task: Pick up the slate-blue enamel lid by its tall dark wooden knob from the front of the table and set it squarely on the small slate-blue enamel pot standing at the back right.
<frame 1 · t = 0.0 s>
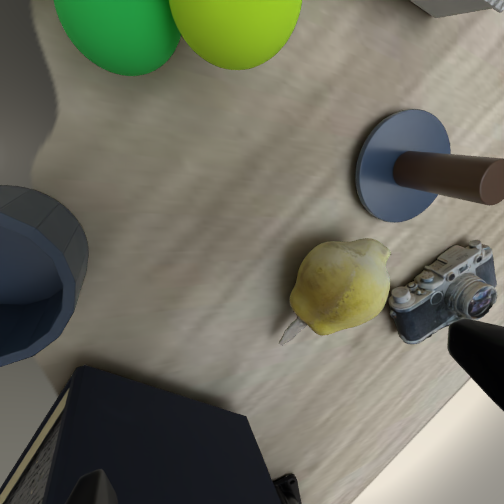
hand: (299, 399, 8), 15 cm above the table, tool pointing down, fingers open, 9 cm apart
lid: (401, 168, 24), point 1 cm above the table
camera: (429, 285, 30), on the table
pot: (17, 250, 18), on the table
fruit: (312, 283, 26), on the table
speaker: (95, 488, 25), on the table
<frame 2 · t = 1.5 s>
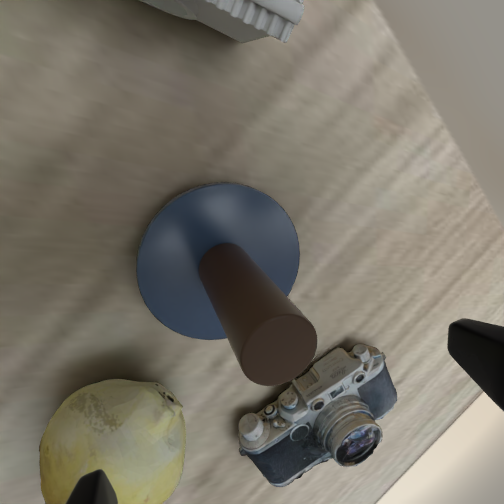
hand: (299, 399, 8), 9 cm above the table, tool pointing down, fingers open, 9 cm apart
lid: (221, 263, 16), point 1 cm above the table
camera: (308, 398, 22), on the table
fruit: (109, 420, 18), on the table
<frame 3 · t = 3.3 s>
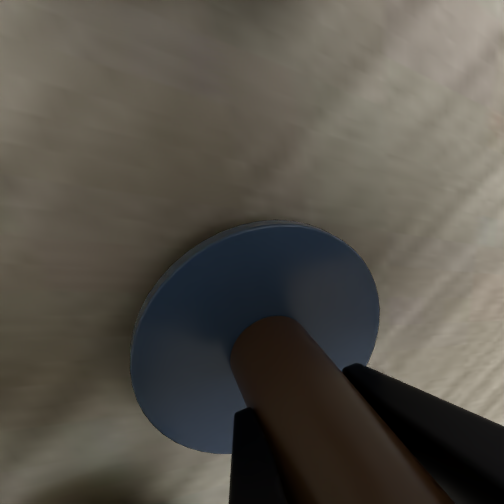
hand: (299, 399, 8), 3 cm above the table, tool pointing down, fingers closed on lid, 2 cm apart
lid: (263, 341, 10), point 1 cm above the table, touching gripper
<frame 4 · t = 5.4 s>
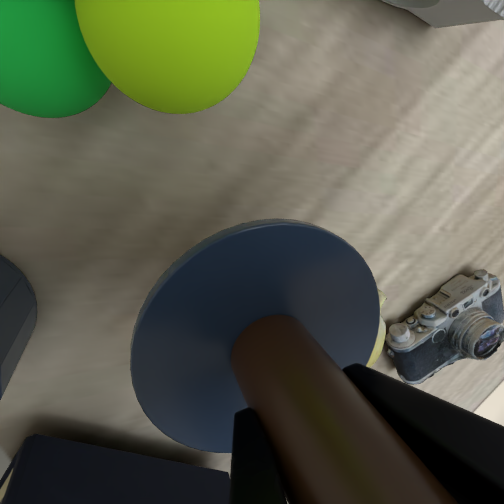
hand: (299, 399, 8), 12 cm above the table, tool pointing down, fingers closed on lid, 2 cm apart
lid: (264, 340, 10), point 10 cm above the table, touching gripper
camera: (430, 318, 27), on the table
fruit: (299, 323, 23), on the table
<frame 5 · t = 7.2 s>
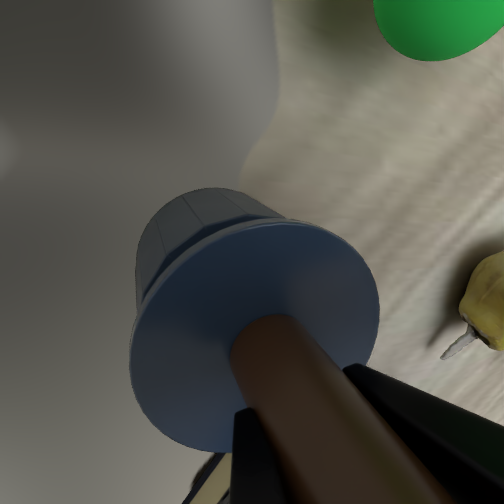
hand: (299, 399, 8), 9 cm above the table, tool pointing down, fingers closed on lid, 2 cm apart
lid: (263, 340, 10), point 7 cm above the table, touching gripper
pot: (212, 260, 16), on the table
fruit: (471, 292, 24), on the table
when the fingers open (8 cm above the table, at t = 7.9 s): lid stays where it is, resting on pot.
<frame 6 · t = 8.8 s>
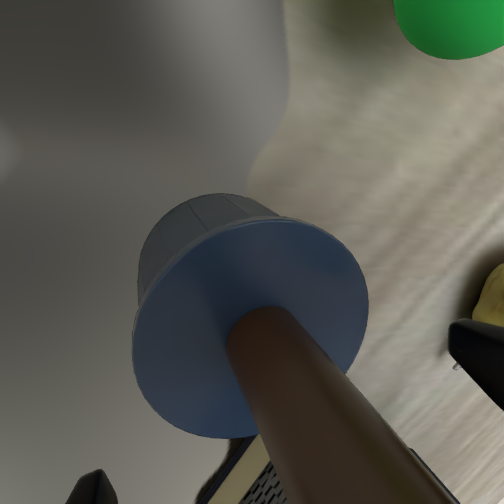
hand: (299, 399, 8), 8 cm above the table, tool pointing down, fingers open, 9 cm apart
lid: (258, 331, 11), point 5 cm above the table, touching pot
pot: (218, 269, 16), on the table
fruit: (484, 299, 23), on the table
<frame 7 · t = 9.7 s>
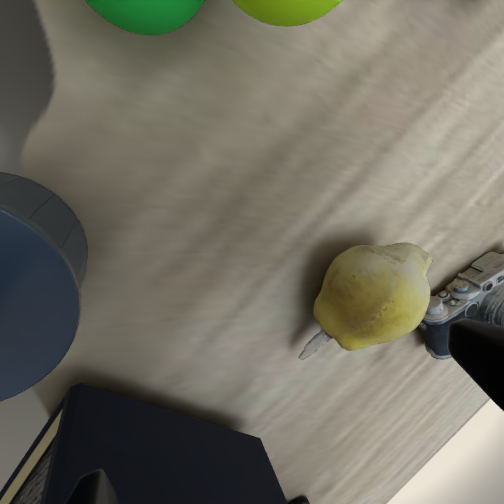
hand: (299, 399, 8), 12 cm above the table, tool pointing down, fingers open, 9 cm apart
camera: (459, 295, 27), on the table
pot: (3, 248, 16), on the table
fruit: (336, 290, 23), on the table
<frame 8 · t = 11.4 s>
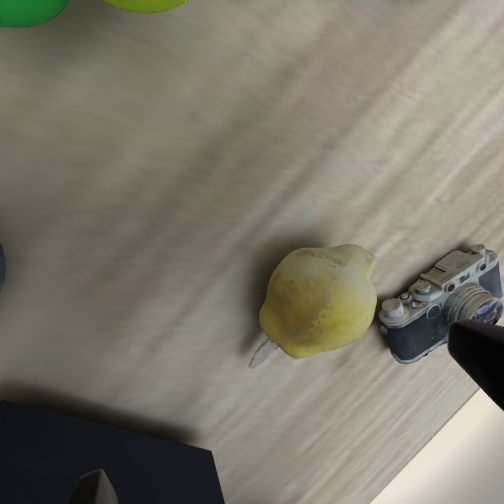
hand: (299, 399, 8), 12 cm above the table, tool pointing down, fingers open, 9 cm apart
camera: (425, 296, 26), on the table
fruit: (288, 295, 22), on the table
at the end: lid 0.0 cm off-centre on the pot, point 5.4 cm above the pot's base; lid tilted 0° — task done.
